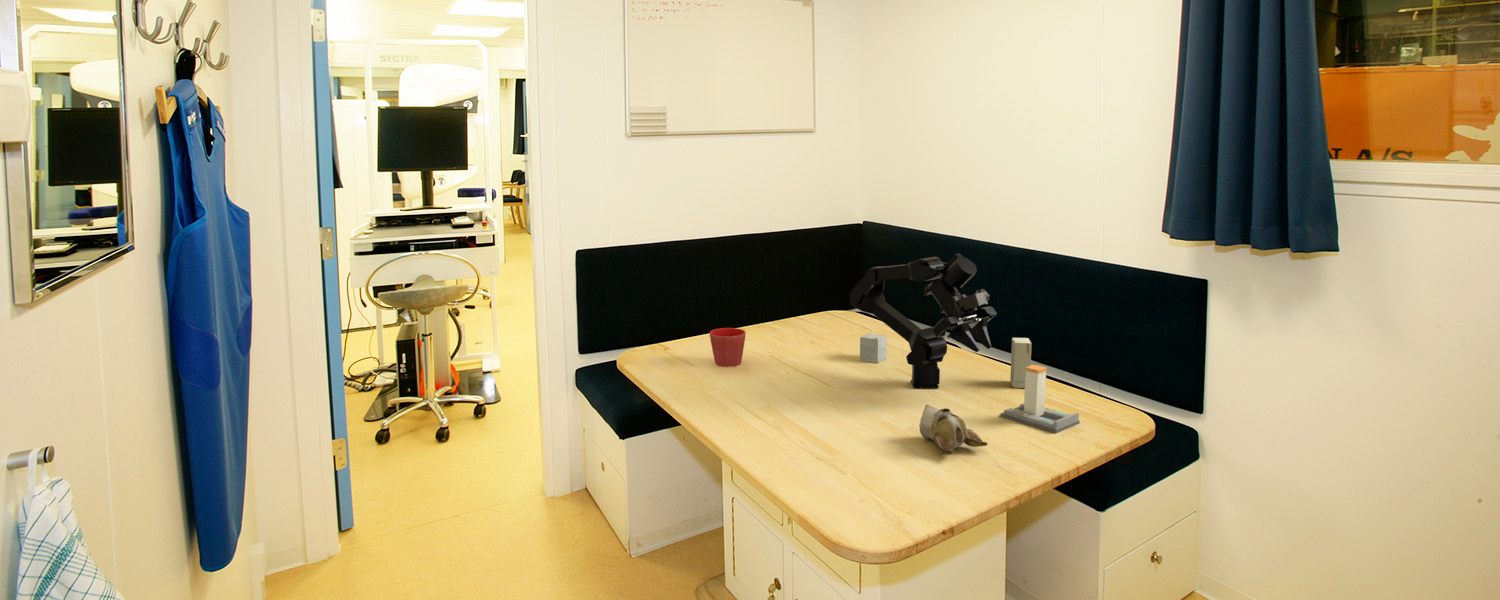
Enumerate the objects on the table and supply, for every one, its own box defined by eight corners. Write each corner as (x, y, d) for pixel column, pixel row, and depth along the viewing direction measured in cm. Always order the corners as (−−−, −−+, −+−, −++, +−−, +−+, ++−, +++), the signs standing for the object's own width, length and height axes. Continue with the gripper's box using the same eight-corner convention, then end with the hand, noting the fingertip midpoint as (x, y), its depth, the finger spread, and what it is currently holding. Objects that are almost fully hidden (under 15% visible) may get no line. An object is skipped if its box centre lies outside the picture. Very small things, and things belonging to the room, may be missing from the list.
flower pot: (753, 361, 240) (752, 329, 238) (733, 370, 231) (732, 337, 229) (724, 356, 246) (723, 325, 244) (703, 365, 237) (702, 333, 235)
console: (999, 416, 190) (1000, 406, 189) (1024, 407, 196) (1024, 397, 195) (1055, 433, 178) (1056, 423, 178) (1079, 423, 184) (1080, 413, 184)
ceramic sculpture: (946, 393, 180) (992, 418, 166) (944, 429, 182) (989, 456, 169) (906, 401, 175) (950, 427, 162) (905, 438, 178) (948, 466, 164)
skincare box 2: (1030, 388, 209) (1032, 343, 207) (1012, 388, 210) (1014, 343, 208) (1026, 381, 215) (1028, 337, 213) (1009, 380, 216) (1011, 336, 214)
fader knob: (1023, 414, 188) (1025, 367, 186) (1031, 410, 190) (1034, 364, 188) (1035, 417, 186) (1038, 370, 183) (1044, 414, 188) (1047, 367, 185)
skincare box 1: (868, 356, 243) (869, 332, 242) (887, 358, 240) (887, 335, 238) (859, 360, 238) (859, 336, 237) (877, 363, 235) (878, 339, 233)
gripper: (943, 284, 192) (980, 337, 186) (991, 275, 203) (1028, 324, 197) (917, 311, 200) (952, 363, 193) (965, 300, 211) (999, 349, 204)
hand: (984, 349), depth 197 cm, fingers open, 4 cm apart
